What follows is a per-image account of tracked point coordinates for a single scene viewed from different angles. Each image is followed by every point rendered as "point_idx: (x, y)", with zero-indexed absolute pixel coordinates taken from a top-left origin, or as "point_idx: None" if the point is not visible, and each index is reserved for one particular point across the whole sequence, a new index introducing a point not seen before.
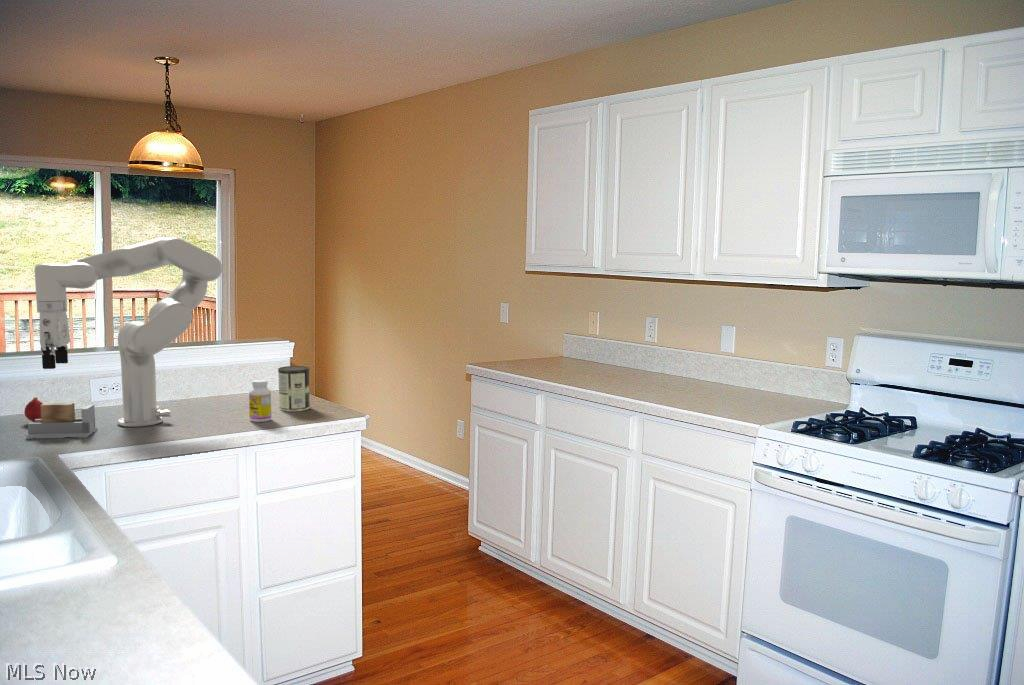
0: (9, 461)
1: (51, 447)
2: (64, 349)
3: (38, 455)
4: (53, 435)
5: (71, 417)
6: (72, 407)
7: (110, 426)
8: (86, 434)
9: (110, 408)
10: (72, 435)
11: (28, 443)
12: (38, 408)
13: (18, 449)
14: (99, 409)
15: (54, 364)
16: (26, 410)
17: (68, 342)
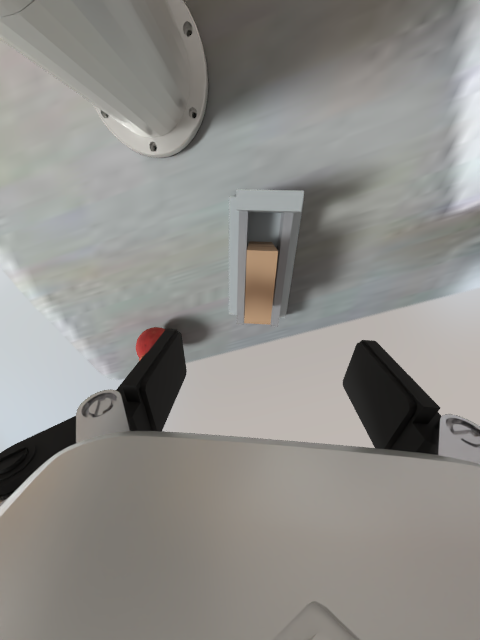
0: (459, 291)
1: (375, 250)
2: (123, 402)
3: (438, 254)
4: (292, 271)
5: (273, 246)
6: (264, 249)
7: (193, 172)
8: (303, 198)
9: (17, 235)
10: (297, 233)
11: (322, 301)
12: None
13: (365, 303)
14: (35, 256)
15: (387, 354)
16: None
17: (142, 444)
